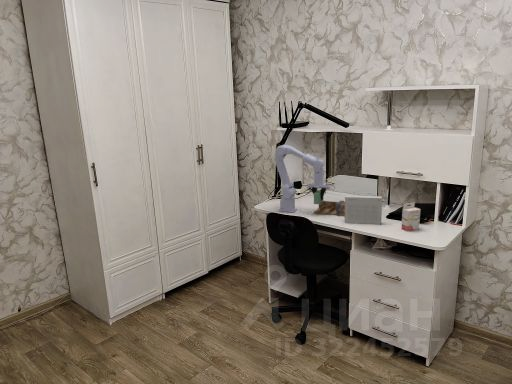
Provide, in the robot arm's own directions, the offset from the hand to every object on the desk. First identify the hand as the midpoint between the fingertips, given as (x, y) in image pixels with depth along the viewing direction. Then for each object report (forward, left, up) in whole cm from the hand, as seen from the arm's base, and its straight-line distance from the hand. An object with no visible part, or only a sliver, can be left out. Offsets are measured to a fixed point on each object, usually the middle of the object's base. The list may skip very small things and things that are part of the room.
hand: (318, 199), depth 257 cm
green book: (0, 0, -2) cm, 2 cm away
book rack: (+7, +5, -10) cm, 13 cm away
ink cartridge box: (+57, -12, -10) cm, 59 cm away
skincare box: (+30, -9, -10) cm, 33 cm away
